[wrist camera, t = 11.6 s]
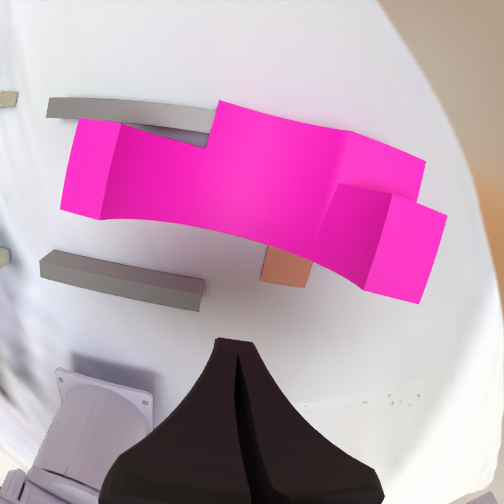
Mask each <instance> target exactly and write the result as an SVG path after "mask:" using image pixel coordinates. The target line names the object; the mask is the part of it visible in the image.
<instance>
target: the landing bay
mask: <svg viewBox="0 0 504 504" xmlns="http://www.w3.org/2000/svg"><path fill="white" fill-rule="evenodd" d="M17 94H18V93H17V92H7V91H0V107H14V106H16V100H17ZM9 262H10V252H9V249H5V248H2V247H0V269H1V268H2V267H3V266H5V265H6V264H8V263H9Z"/></svg>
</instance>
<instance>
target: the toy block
mask: <svg viewBox="0 0 504 504" xmlns="http://www.w3.org/2000/svg"><path fill="white" fill-rule="evenodd" d="M425 164H426V161H424V160H422V159H420V158H417V157H415V156H413V155H411V154H408V153H406V152H404V151H401V150H399V149H396V148H394V147H392V146H389V145H387V144H384V143H382V142H379V141H376V140H374V139H371V138H369V137H366V136H363V135H360V134H358V133H355V132H352V131H345V130H339V129H332V128H327V127H321V126H316V125H311V124H306V123H301V122H297V121H293V120H288V119H284V118H280V117H276V116H272V115H268V114H264V113H261V112H257V111H253V110H250V109H246V108H243V107H240V106H236V105H233V104H230V103H227V102H224V101H221V100H219V103H218V107H217V110H216V113H215V117H214V120H213V123H212V127H211V130H210V134H209V137H208V141H207V145H206V148H201V147H197V146H194V145H190V144H186V143H183V142H179V141H176V140H172V139H169V138H165V137H162V136H158V135H155V134H152V133H148V132H145V131H142V130H139V129H136V128H133V127H130V126H127V125H125V124H122V123H116V122H108V121H101V120H93V119H85V118H79V122H78V126H77V129H76V133H75V137H74V141H73V145H72V149H71V154H70V158H69V163H68V167H67V172H66V177H65V182H64V188H63V193H62V199H61V206H60V209H61V210H64V211H68V212H72V213H75V214H79V215H82V216H86V217H90V218H93V219H97V220H106V219H143V220H155V221H163V222H171V223H178V224H184V225H190V226H195V227H200V228H205V229H210V230H214V231H219V232H223V233H227V234H231V235H235V236H239V237H243V238H246V239H250V240H253V241H256V242H260V243H263V244H266V245H269V246H272V247H275V248H278V249H281V250H284V251H287V252H290V253H292V254H295V255H298V256H300V257H303V258H305V259H308V260H310V261H312V262H315V263H317V264H319V265H321V266H324V267H326V268H328V269H330V270H332V271H334V272H336V273H337V274H339V275H341V276H343V277H345V278H346V279H348V280H350V281H351V282H353V283H354V284H356V285H357V286H358V287H360V288H361V289H362V290H364V291H368V292H372V293H376V294H380V295H384V296H388V297H392V298H396V299H400V300H404V301H408V302H412V303H416V304H419V303H420V300H421V297H422V295H423V292H424V289H425V286H426V284H427V281H428V278H429V275H430V272H431V269H432V266H433V263H434V260H435V257H436V254H437V251H438V247H439V244H440V241H441V237H442V234H443V230H444V226H445V223H446V219H447V215H445V214H442V213H440V212H438V211H435V210H433V209H430V208H428V207H425V206H423V205H421V204H418V203H416V202H417V198H418V194H419V190H420V186H421V182H422V177H423V173H424V168H425Z"/></svg>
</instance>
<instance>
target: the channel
mask: <svg viewBox="0 0 504 504" xmlns="http://www.w3.org/2000/svg"><path fill="white" fill-rule="evenodd" d="M215 113H216V111H211V110H205V109H198V108H192V107H185V106H177V105H169V104H161V103H151V102H141V101H130V100H116V99H98V98H49V103H48V109H47V115H46V118H72V119H79V118H85V119H93V120H104V121H116V122H127V123H137V124H146V125H154V126H162V127H170V128H177V129H184V130H190V131H197V132H203V133H209V134H210V130H211V127H212V123H213V120H214V117H215ZM39 262H40V276H41V277H42V278H45V279H49V280H53V281H57V282H61V283H65V284H69V285H73V286H77V287H81V288H85V289H89V290H94V291H98V292H102V293H107V294H111V295H116V296H120V297H125V298H129V299H134V300H139V301H144V302H149V303H154V304H159V305H164V306H169V307H175V308H180V309H185V310H191V311H197V312H199V308H200V302H201V297H202V291H203V285H204V280H202V279H196V278H190V277H185V276H179V275H174V274H169V273H163V272H158V271H153V270H147V269H142V268H137V267H132V266H127V265H122V264H117V263H112V262H107V261H102V260H98V259H93V258H88V257H83V256H79V255H74V254H69V253H65V252H60V251H56V250H53V251H52V252H50V253H49V254H48V255H46V256H45V257H44V258H42V259H41V260H40V261H39ZM311 266H312V261H310V260H308V259H305V258H303V257H300V256H298V255H295V254H292V253H290V252H287V251H284V250H281V249H278V248H275V247H272V246H269V245H268V248H267V253H266V257H265V261H264V265H263V269H262V273H261V277H260V281H264V282H271V283H277V284H283V285H289V286H295V287H302V288H305V286H306V283H307V279H308V276H309V273H310V269H311Z"/></svg>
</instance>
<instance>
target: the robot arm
mask: <svg viewBox="0 0 504 504" xmlns="http://www.w3.org/2000/svg"><path fill="white" fill-rule="evenodd" d="M55 376H56V380H57V384H58V388H59V392H60V395H61V399H62V403H61V405H60V407H59V409H58V411H57V413H56V415H55V417H54V419H53V421H52V423H51V425H50V428H49V430H48V432H47V434H46V436H45V438H44V440H43V443H42V445H41V447H40V449H39V451H38V454H37V456H36V458H35V460H34V463H33V465H32V467H31V469H30V470H29V472H28V473H27V474H26V472H24V471H23V470H21V469H17V470H10V471H9V472H8V474H7V476H6V478H5V481H4V483H3V485H2V488H1V490H0V504H381V503H382V501H383V500H384V497H385V495H384V492H383V489H382V486H381V483H380V480H379V478H378V476H377V474H376V472H375V470H374V469H373V468H371V467H369V466H367V465H365V464H364V463H362V462H360V461H358V460H357V459H355V458H353V457H351V456H350V455H348V454H347V453H345V452H344V451H342V450H341V449H339V448H338V447H337V446H335V445H334V444H332V443H331V442H330V441H329V440H327V439H326V438H325V437H324V436H323V435H321V434H320V433H319V432H318V431H317V430H316V429H314V428H313V427H312V426H311V425H310V424H309V423H308V422H307V421H306V420H305V419H304V418H303V417H302V416H301V415H300V414H299V413H298V411H297V410H296V409H295V408H294V407H293V406H292V404H291V403H290V402H289V401H288V399H287V398H286V397H285V395H284V394H283V393H282V391H281V390H280V388H279V387H278V385H277V384H276V382H275V381H274V379H273V378H272V376H271V374H270V373H269V371H268V370H267V368H266V366H265V364H264V362H263V361H262V359H261V357H260V355H259V353H258V351H257V349H256V347H255V345H254V344H253V342H247V341H240V340H233V339H226V338H220V337H219V338H217V339H215V343H214V348H213V351H212V354H211V356H210V358H209V361H208V362H207V364H206V366H205V368H204V370H203V372H202V374H201V375H200V377H199V378H198V380H197V381H196V383H195V384H194V386H193V387H192V389H191V390H190V392H189V393H188V394H187V396H186V397H185V398H184V399H183V401H182V402H181V403H180V404H179V405H178V406H177V408H176V409H175V410H174V411H173V412H172V413H171V414H170V415H169V416H168V417H167V418H166V419H165V420H164V421H163V422H162V423H161V424H160V425H159V426H157V427H156V428H155V429H154V430H153V396H152V394H151V393H150V392H148V391H144V390H140V389H135V388H131V387H127V386H123V385H119V384H115V383H111V382H107V381H103V380H99V379H96V378H92V377H89V376H85V375H82V374H79V373H75V372H72V371H69V370H66V369H63V368H57V369H56V371H55ZM25 475H26V476H25ZM467 504H498V503H497V501H496V499H495V497H494V495H493V493H492V492H491V491H490V492H487V493H486V494H483V495H481V496H479V497H477V498H475V499H473V500H472V501H470V502H468V503H467Z"/></svg>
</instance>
